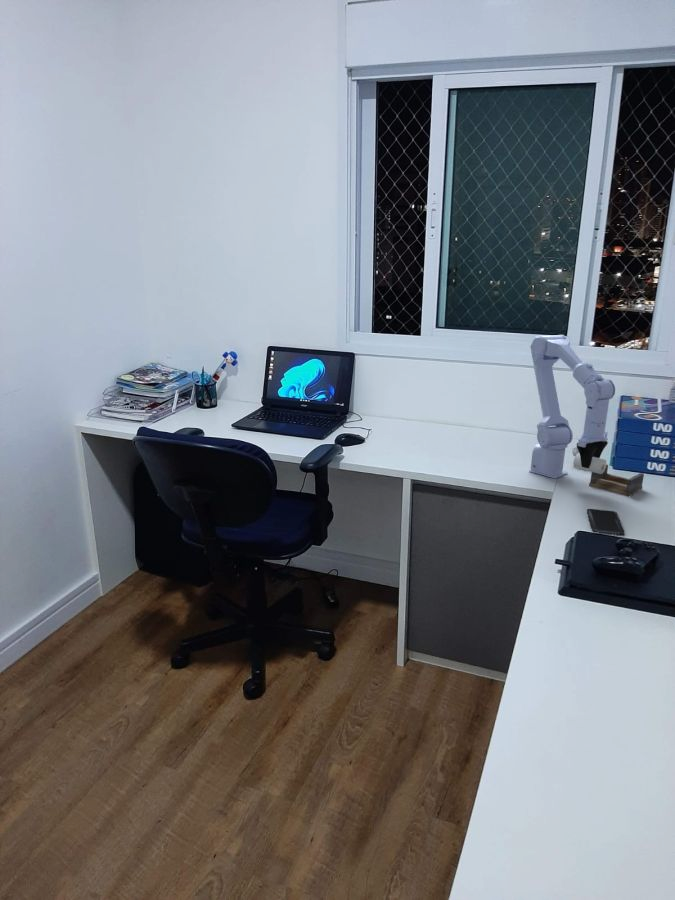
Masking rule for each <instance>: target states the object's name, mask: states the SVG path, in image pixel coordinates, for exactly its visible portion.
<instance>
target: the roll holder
mask: <svg viewBox="0 0 675 900" xmlns="http://www.w3.org/2000/svg"><path fill="white" fill-rule="evenodd" d="M608 469H609V464H606V468H605V471H604V472H603V473H602V474H598V473H594V472H591V474H590V480H589V481H590V482H589V483H588V485H589V487H592V488H597V489H600V490H603V489H604V491H607V492H612V493H615V494H618V493H619V494H618V495H622V494H623V495H622V496H625V495H626V497H629V496H630V497H632V496H633V495H635V494H637V493H638V491H639V490H640V491H642V490H643V481H644V476H645V475H644V474H645V473H642V472H640V473H638V474H635V475H634V476H632V477H630V478H627V477H623V476H619V475H615V474H611V473H608ZM641 489H642V490H641ZM640 491H639V492H640ZM636 492H637V493H636ZM634 493H635V494H634ZM631 495H632V496H631Z"/></svg>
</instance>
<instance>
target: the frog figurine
mask: <svg viewBox="0 0 675 900" xmlns="http://www.w3.org/2000/svg"><path fill="white" fill-rule="evenodd" d="M571 453H572V455H573V457H575V456H576V455H577V454H578V453H579V450H578V448H577V446H574V447H572V451H571Z"/></svg>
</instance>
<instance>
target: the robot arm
mask: <svg viewBox="0 0 675 900" xmlns="http://www.w3.org/2000/svg"><path fill="white" fill-rule="evenodd" d="M570 343H571V342H570V340H569V339H568V338H567V336H565V335H564V334H557V335H556V334H555V335H536V336H535V337H534V338H533V340H532V342H531V344H530V346H529V347H530V351H531V352H530V353H531V357H532V358H531V359H532V363H533V370H534V375H535V376H534V377H535V381H536V386H537V387H536V388H537V391H538V396H539V404H540V409H541V413H542V419H541V420H540V421H539V422H538V423H537V425H536V428H537V433H536V434H537V435H536V439H537V442H538V443H537V444H535V445H534V447H533V449H532V453H531V461H530V469H529V472H530V473H533V474H538V475H540V476H543V477H547V478H548V477H549V478H552V479H558V478H560V477H562V476H565V475H567V474H568V473H569V472H568V471H565V470H564V463H565V462H564V461H565V453H566V448H568V446H569V444H571V443H572V441H573V436H574V435H573V431H572V428H571V426H570V424H569V421H568V420H567V418H566V417H565V416H562V415H561V407H560V404H559V399H558V392H557V387H556V382H555V376H554V370H553V366H554V364H556V363H557V362H558V361H559V360H561V361H562V362H563V363H564V364H566V366H567V367H568V368H570V369H571V370H572V371H573V372H572V377H573V378H574V379H575V380H576V382H577V383H579V386H581V387H582V388H583V389H584V390H583V392H584V393H583V394H584V397H585V404H586V412H585V420H584V427H583V433H582V435H581V437H580V438H579V439H578V442H577V443H576V447H577V448H578V450H579V453H580V458H581V466H582V467H584V468H589V467H590V465H591V461H592V457H596V458H600V457H601V455H602V453H603V452H604V449H605V448H606V447H607V446H608V444H609V442H608V431H606V424H607V418H608V411H609V405H610V404H609V403H610V400H611V399H613V398H614V396H615V395H616V385H615V384H614V382H613V381H612V379H610V378H609V379H608V378H605V377H603V376H602V375H601V374H600V373H599V372H598V371H597V370H596V369H595V368H594V366H593V364H592V363H588V362H583V361H582V360H581V359H580V357H579V356H578V355H577V353H576V352H575V351H574V350H573V348H572V347H571V344H570ZM600 459H601V458H600Z"/></svg>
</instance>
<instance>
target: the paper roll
mask: <svg viewBox="0 0 675 900" xmlns="http://www.w3.org/2000/svg"><path fill="white" fill-rule="evenodd" d="M572 464H573V467H574V468H576V469H580V470H584V471H587V472H591V473H592V472H594V473H598V474H602V473H603V472H604V471H605V468H606V465H607V460H606V459H604V458H596V457H592V461H591V465H590V467H589V468H584V467H582V466H581V458H580V453H578V454H577V455H576V456H574V458H573V462H572Z"/></svg>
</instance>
